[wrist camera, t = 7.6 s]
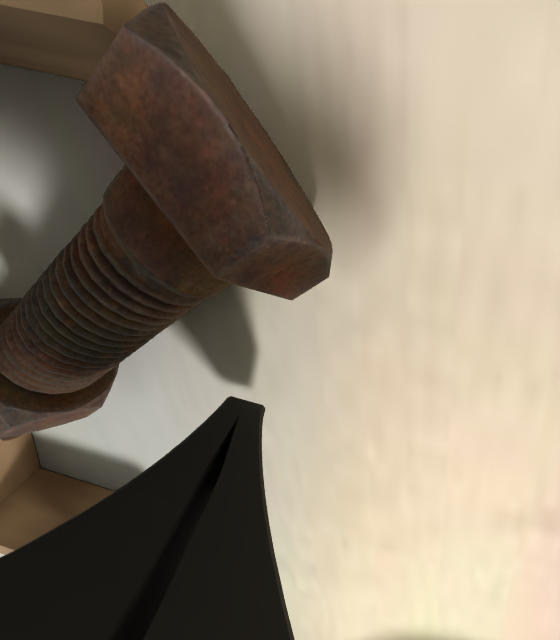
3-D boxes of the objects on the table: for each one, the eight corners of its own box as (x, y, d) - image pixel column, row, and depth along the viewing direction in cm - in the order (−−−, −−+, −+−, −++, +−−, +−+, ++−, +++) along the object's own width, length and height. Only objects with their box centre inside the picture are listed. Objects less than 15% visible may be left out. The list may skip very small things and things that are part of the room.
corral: (30, 473, 16) (-43, 538, 13) (-99, 8, 8) (-400, -135, 4) (172, 518, 15) (132, 598, 12) (201, 67, 7) (99, -49, 4)
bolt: (64, 349, 14) (283, 152, 9) (84, 441, 13) (356, 279, 7) (-132, 358, 9) (92, -112, 4) (-131, 511, 8) (223, 151, 2)
